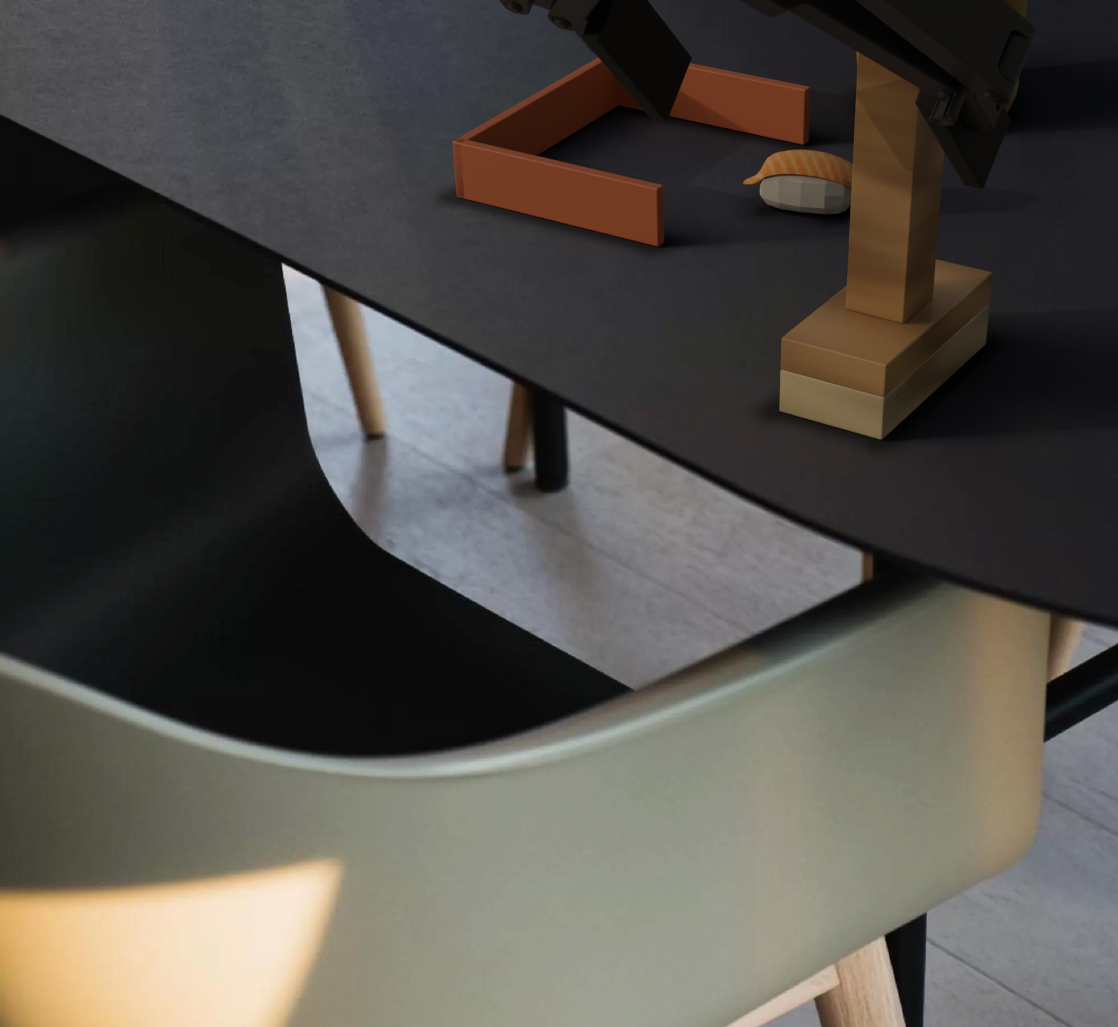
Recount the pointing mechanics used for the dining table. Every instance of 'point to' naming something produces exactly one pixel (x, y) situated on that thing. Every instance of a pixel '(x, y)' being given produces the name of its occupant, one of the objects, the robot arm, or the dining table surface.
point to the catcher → (596, 196)
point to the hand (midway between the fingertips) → (823, 119)
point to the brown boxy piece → (887, 280)
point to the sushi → (805, 181)
